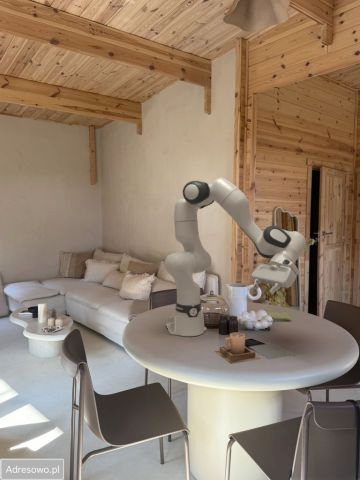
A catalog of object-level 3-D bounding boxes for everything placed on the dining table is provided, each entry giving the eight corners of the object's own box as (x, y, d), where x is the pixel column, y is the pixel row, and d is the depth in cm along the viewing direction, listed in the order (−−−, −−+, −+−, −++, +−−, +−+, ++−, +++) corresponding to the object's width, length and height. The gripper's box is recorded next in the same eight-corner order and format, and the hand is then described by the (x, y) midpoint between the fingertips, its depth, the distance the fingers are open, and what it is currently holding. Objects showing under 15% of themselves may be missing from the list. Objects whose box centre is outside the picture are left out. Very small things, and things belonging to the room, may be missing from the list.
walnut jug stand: (214, 355, 146) (214, 346, 146) (242, 350, 151) (242, 342, 151) (230, 367, 134) (230, 358, 134) (260, 362, 139) (260, 353, 139)
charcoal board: (248, 350, 152) (248, 346, 152) (272, 346, 156) (272, 343, 156) (268, 363, 139) (268, 359, 138) (294, 358, 143) (294, 354, 143)
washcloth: (292, 322, 193) (293, 316, 192) (259, 322, 192) (259, 316, 192) (285, 315, 206) (285, 309, 205) (253, 315, 205) (254, 310, 205)
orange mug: (221, 353, 143) (222, 333, 143) (239, 351, 146) (240, 331, 146) (229, 359, 138) (229, 338, 138) (247, 356, 141) (247, 336, 140)
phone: (253, 328, 178) (253, 320, 193) (253, 331, 178) (253, 322, 193) (270, 329, 176) (269, 320, 191) (270, 332, 176) (269, 323, 191)
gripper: (259, 257, 159) (241, 281, 155) (295, 262, 141) (276, 290, 137) (266, 267, 161) (249, 291, 157) (303, 273, 144) (284, 300, 139)
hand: (262, 290), depth 147 cm, fingers open, 8 cm apart
